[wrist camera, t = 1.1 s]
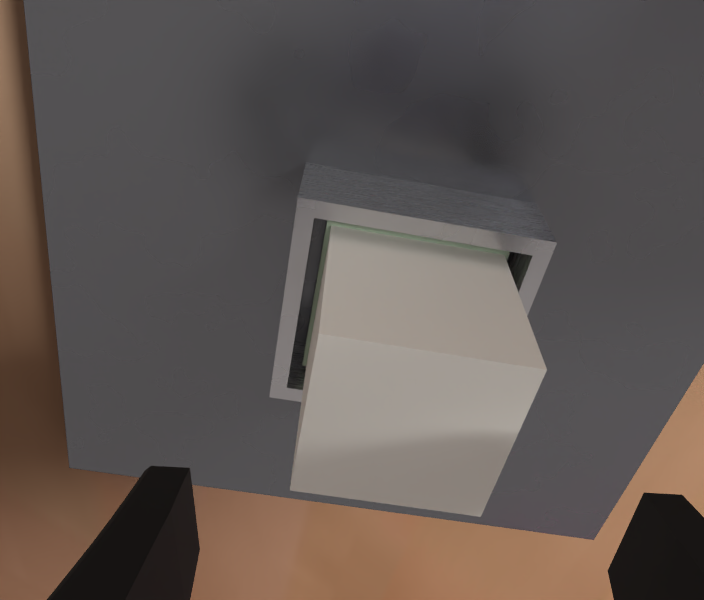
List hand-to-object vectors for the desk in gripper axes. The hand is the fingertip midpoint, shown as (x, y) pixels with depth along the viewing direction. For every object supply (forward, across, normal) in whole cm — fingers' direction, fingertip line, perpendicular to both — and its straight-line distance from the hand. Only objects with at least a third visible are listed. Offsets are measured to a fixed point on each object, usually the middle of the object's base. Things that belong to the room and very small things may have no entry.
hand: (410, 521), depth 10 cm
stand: (+8, 0, 0) cm, 8 cm away
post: (+7, 0, 0) cm, 7 cm away
